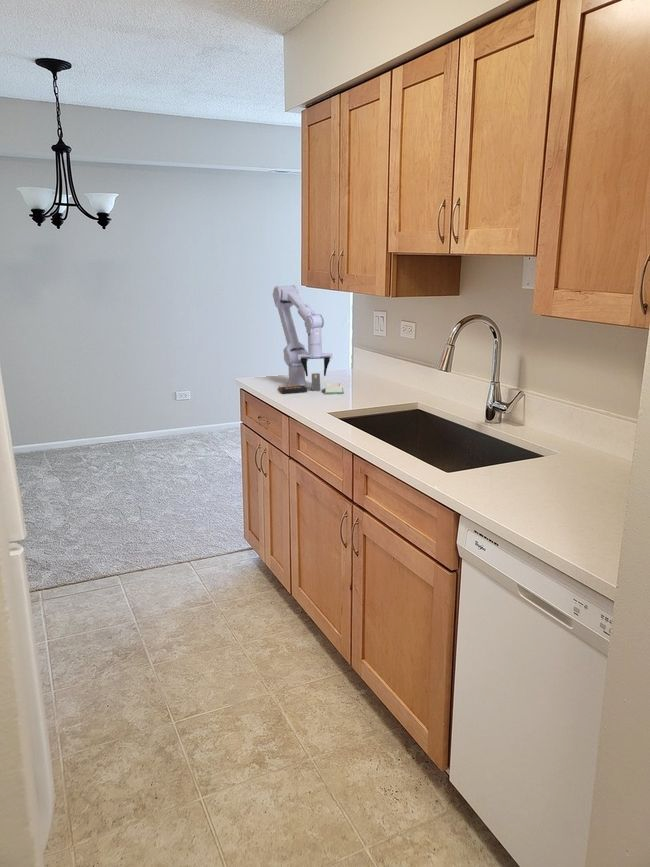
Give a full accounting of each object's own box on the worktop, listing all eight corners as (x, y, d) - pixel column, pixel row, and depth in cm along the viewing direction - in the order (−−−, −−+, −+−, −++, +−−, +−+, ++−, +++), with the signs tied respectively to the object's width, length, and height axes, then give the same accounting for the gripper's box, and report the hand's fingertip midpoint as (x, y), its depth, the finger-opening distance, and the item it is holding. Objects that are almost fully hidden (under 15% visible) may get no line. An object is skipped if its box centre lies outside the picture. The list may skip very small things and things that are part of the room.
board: (324, 389, 285) (324, 382, 284) (342, 388, 285) (342, 382, 284) (324, 394, 275) (324, 387, 274) (343, 393, 275) (343, 386, 274)
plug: (312, 389, 286) (311, 373, 284) (320, 389, 286) (319, 373, 284) (312, 391, 282) (311, 375, 280) (320, 391, 282) (319, 374, 280)
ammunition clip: (307, 391, 280) (300, 387, 292) (307, 387, 280) (300, 383, 291) (282, 393, 277) (276, 389, 289) (282, 389, 277) (276, 385, 288)
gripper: (297, 345, 275) (298, 377, 278) (332, 344, 275) (333, 376, 278) (297, 343, 281) (299, 374, 285) (331, 342, 281) (332, 373, 285)
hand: (315, 375), depth 282 cm, fingers open, 7 cm apart
